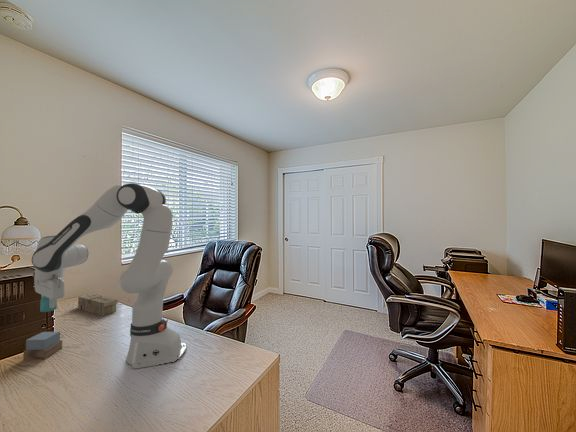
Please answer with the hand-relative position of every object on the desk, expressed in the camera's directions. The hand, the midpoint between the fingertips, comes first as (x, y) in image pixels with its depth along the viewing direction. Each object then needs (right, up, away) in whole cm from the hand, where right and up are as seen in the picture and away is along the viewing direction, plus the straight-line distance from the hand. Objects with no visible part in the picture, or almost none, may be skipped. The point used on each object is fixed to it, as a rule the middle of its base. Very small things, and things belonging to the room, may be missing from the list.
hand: (48, 305), depth 100 cm
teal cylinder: (0, -2, 0) cm, 2 cm away
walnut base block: (0, -20, -2) cm, 20 cm away
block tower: (-18, -21, +47) cm, 54 cm away
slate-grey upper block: (0, -16, -2) cm, 16 cm away
